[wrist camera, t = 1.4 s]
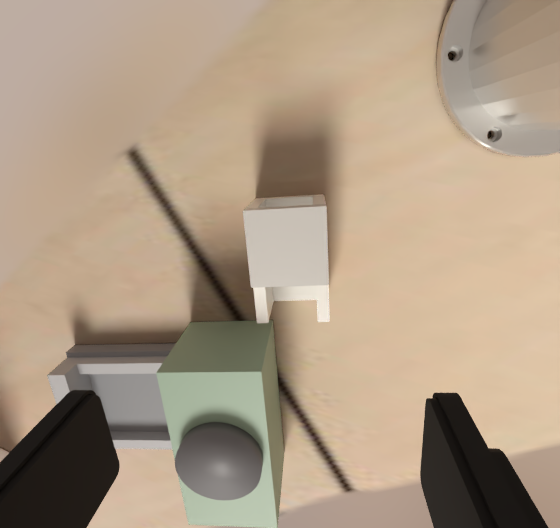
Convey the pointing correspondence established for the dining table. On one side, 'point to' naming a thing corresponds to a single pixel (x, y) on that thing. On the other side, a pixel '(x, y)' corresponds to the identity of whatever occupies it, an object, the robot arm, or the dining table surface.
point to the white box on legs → (288, 252)
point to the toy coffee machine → (196, 413)
